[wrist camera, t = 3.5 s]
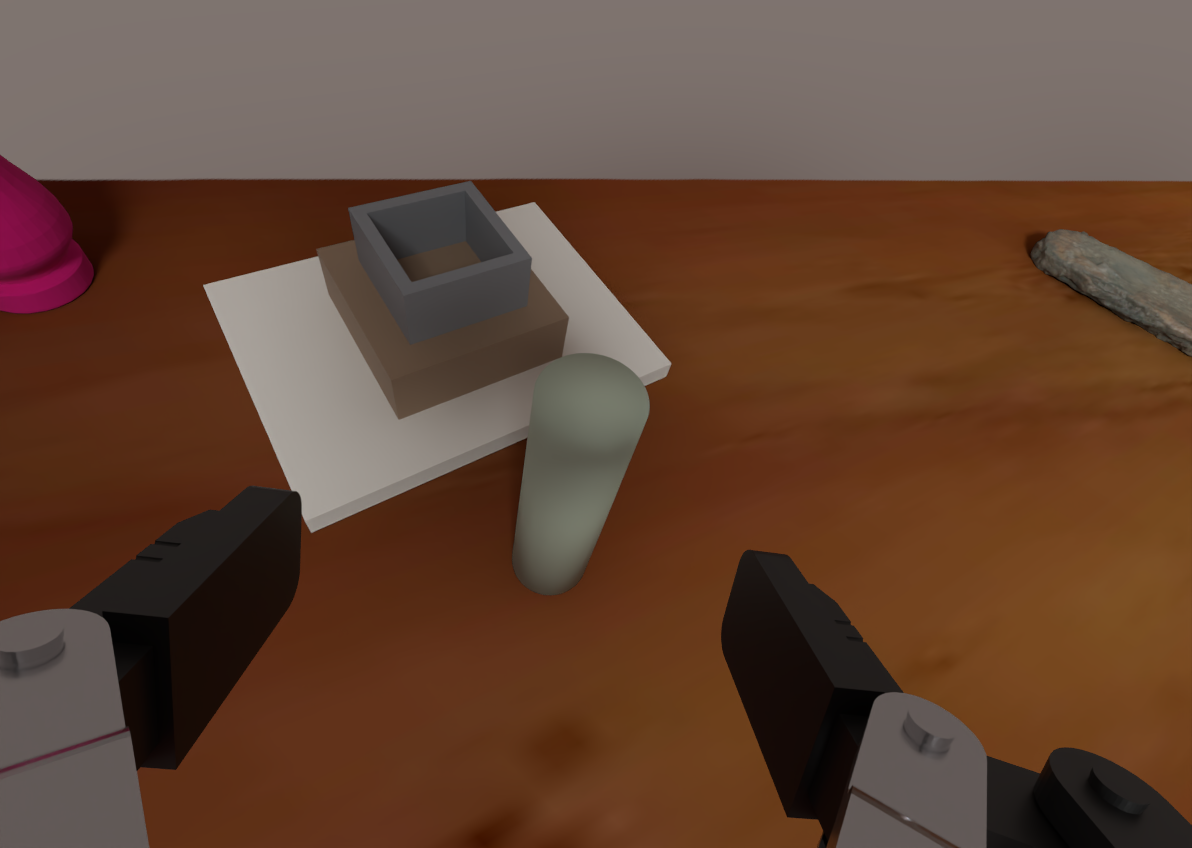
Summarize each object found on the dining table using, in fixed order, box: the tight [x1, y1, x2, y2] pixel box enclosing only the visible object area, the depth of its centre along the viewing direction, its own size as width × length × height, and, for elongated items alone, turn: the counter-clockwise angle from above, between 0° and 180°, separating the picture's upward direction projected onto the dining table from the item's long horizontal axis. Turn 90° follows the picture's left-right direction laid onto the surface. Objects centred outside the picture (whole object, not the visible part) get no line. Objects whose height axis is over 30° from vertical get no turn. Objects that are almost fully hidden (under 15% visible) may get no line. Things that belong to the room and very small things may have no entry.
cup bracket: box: [203, 181, 671, 533], centre depth 40 cm, size 26×20×10 cm
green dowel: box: [512, 353, 650, 595], centre depth 29 cm, size 4×4×16 cm
